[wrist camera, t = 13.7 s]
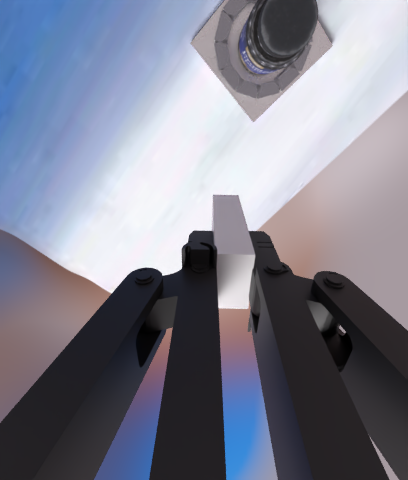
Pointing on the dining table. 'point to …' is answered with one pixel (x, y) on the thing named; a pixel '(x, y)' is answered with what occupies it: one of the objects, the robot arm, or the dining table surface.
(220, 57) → the hub plate
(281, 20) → the pill bottle
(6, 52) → the dining table surface
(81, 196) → the dining table surface
